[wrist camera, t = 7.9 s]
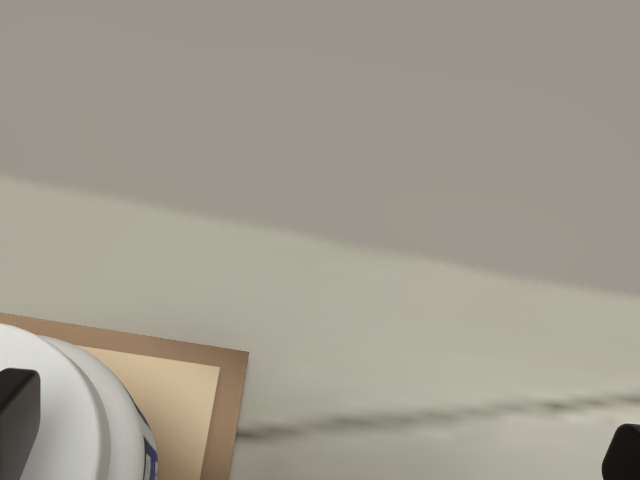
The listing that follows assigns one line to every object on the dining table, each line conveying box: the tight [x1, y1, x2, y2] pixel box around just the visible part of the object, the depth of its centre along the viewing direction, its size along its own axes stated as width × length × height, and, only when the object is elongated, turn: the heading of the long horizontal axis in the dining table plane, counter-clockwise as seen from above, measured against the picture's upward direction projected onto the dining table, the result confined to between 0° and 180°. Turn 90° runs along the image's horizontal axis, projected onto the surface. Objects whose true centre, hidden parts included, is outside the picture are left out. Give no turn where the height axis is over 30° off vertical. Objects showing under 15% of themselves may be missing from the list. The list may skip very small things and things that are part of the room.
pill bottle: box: [0, 323, 158, 480], centre depth 13 cm, size 6×6×10 cm
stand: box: [0, 313, 249, 480], centre depth 19 cm, size 10×10×2 cm
